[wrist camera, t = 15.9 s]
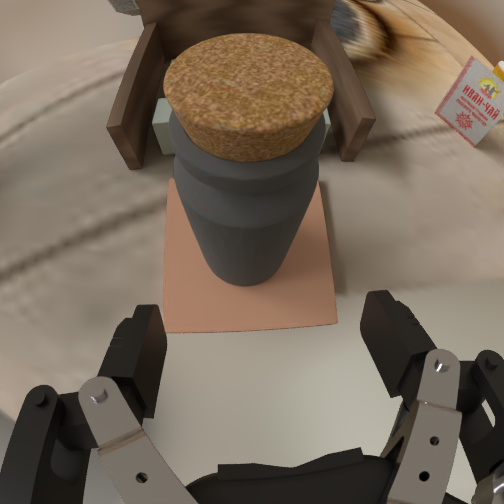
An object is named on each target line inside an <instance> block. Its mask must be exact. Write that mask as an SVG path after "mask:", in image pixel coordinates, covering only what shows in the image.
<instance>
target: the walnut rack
mask: <svg viewBox="0 0 504 504" xmlns="http://www.w3.org/2000/svg"><path fill="white" fill-rule="evenodd" d="M334 2H335V0H138V4H139V8H140V13H141V17H142V21H143V25H144V30H143V32H142V35H141V37H140V39H139V41H138V43H137V45H136V48H135V50H134V52H133V55H132V57H131V59H130V62H129V64H128V67H127V69H126V72H125V74H124V77H123V79H122V82H121V85H120V87H119V90H118V93H117V96H116V99H115V101H114V104H113V107H112V110H111V114H110V117H109V120H108V123H107V126H106V128H107V130H108V132H109V134H110V136H111V137H112V139H113V141H114V143H115V145H116V146H117V148H118V150H119V152H120V154H121V155H122V157H123V159H124V161H125V163H126V164H127V166H128V168H129V170H132V169H140V168H142V165H143V158H144V152H145V146H146V141H147V135H148V130H149V125H150V120H151V115H152V110H153V106H154V101H155V97H156V93H157V88H158V84H159V80H160V76H161V73H162V69H163V65H164V61H165V60H168V59H176V58H177V57H178V56H179V55H180V54H181V53H183V52H184V51H185V50H187V49H188V48H190V47H192V46H194V45H196V44H198V43H200V42H202V41H205V40H208V39H211V38H214V37H218V36H223V35H229V34H239V33H255V34H266V35H271V36H276V37H280V38H283V39H286V40H289V41H292V42H295V43H297V44H299V45H301V46H303V47H305V48H307V49H308V50H310V51H311V52H313V53H314V54H315V55H317V56H318V57H319V58H320V59H321V60H322V62H323V63H324V64H325V65H326V66H327V68H328V69H329V71H330V73H331V76H332V79H333V85H334V92H333V96H332V99H331V102H330V103H329V105H328V106H327V111H328V114H329V118H330V121H331V125H332V128H333V132H334V135H335V139H336V143H337V146H338V150H339V154H340V158H341V161H351V162H353V161H354V159H355V158H356V156H357V154H358V152H359V150H360V148H361V147H362V145H363V143H364V141H365V139H366V137H367V135H368V134H369V132H370V130H371V128H372V126H373V124H374V122H375V120H376V117H375V115H374V112H373V110H372V108H371V105H370V103H369V101H368V98H367V96H366V94H365V92H364V89H363V87H362V85H361V83H360V81H359V78H358V76H357V74H356V72H355V70H354V68H353V66H352V64H351V62H350V60H349V58H348V56H347V54H346V52H345V50H344V49H343V47H342V45H341V43H340V41H339V39H338V38H337V36H336V34H335V32H334V31H333V29H332V27H331V25H330V24H329V23H330V19H331V15H332V10H333V6H334Z"/></svg>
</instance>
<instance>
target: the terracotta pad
mask: <svg viewBox="0 0 504 504" xmlns="http://www.w3.org/2000/svg"><path fill="white" fill-rule="evenodd" d="M336 323H338V321H337V311H336V300H335V291H334V282H333V274H332V266H331V258H330V251H329V244H328V237H327V230H326V224H325V217H324V211H323V205H322V199H321V194H320V188H319V183H318V181H317V186H316V189H315V192H314V194H313V197H312V200H311V202H310V204H309V207H308V209H307V211H306V213H305V216H304V218H303V220H302V222H301V225H300V227H299V229H298V231H297V233H296V236H295V238H294V240H293V242H292V244H291V246H290V248H289V250H288V253H287V255H286V257H285V259H284V261H283V263H282V264H281V266H280V268H279V269H278V270H277V272H276V273H275V274H274V275H273V276H272V277H271V278H269V279H268V280H266V281H264V282H262V283H260V284H257V285H253V286H245V287H243V286H236V285H232V284H229V283H227V282H225V281H223V280H221V279H220V278H219V277H217V276H216V275H215V274H214V273H213V272H212V270H211V269H210V268H209V266H208V264H207V262H206V260H205V258H204V256H203V254H202V251H201V249H200V247H199V244H198V242H197V240H196V237H195V235H194V233H193V230H192V228H191V225H190V223H189V220H188V218H187V215H186V213H185V210H184V207H183V205H182V202H181V200H180V197H179V194H178V191H177V188H176V184H175V180H174V178H169V184H168V196H167V210H166V227H165V250H164V329H165V332H166V333H213V332H240V331H259V330H274V329H288V328H300V327H311V326H321V325H331V324H336Z"/></svg>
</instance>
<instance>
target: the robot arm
mask: <svg viewBox="0 0 504 504" xmlns="http://www.w3.org/2000/svg"><path fill="white" fill-rule="evenodd" d="M360 331H361V335H362V338H363V340H364V342H365V344H366V346H367V348H368V350H369V352H370V354H371V356H372V358H373V361H374V363H375V365H376V367H377V369H378V371H379V373H380V375H381V378H382V380H383V382H384V384H385V386H386V388H387V391H388V393H389V395H390V398H393V397H396V396H400V395H401V396H402V398H403V401H402V403H401V405H400V408H399V411H398V414H397V417H396V420H395V423H394V426H393V428H392V431H391V434H390V437H389V439H388V442H387V444H386V446H385V448H384V449H383V451H382V453H381V455H380V457H378V456H372V455H363V453H362V450H361V447H359V448H355V449H350V450H346V451H342V452H337V453H331V454H327V455H325V456H322V457H320V458H318V459H315V460H313V461H310V462H307V463H305V464H302V465H300V466H297V467H293V468H289V467H278V466H271V465H263V464H256V463H251V464H250V463H249V464H218V472H217V473H212V474H209V475H206V476H203V477H201V478H199V479H197V480H195V481H194V482H192V483H190V484H188V485H187V486H186V487H185V486H184V485H183V484H182V483H181V481H180V480H179V479H178V478H177V476H176V475H175V474H174V473H173V471H172V470H171V469H170V467H169V466H168V465H167V463H166V462H165V460H164V459H163V458H162V456H161V455H160V453H159V452H158V451H157V449H156V448H155V446H154V445H153V444H152V442H151V440H150V439H149V437H148V436H147V434H146V433H145V432H144V430H143V428H142V423H143V418H152V419H153V418H154V413H155V407H156V402H157V396H158V390H159V386H160V380H161V375H162V370H163V365H164V360H165V356H166V351H167V337H166V332H165V329H164V325H163V321H162V318H161V314H160V310H159V307H158V305H157V304H152V305H137V307H136V309H135V312H134V314H133V317H132V318H125V319H124V320H123V321H122V322H121V323H120V324H119V325H118V326H117V328H116V330H115V333H114V335H113V339H112V340H111V342H110V347H108V350H107V352H106V355H105V357H104V360H103V362H102V365H101V368H100V370H99V373H98V375H97V377H95V378H92V379H90V380H88V381H87V382H85V383H84V384H83V385H82V387H81V388H80V391H79V392H74V393H67V394H60V395H58V394H57V392H56V391H55V390H54V389H53V388H52V387H51V386H48V385H40V386H37V387H35V388H33V389H32V390H31V391H30V392H29V393H28V394H27V396H26V398H25V400H24V403H23V405H22V408H21V410H20V413H19V416H18V418H17V421H16V424H15V427H14V430H13V433H12V435H11V438H10V441H9V445H8V448H7V451H6V454H5V457H4V461H3V464H2V468H1V472H0V504H83V496H84V488H85V481H86V475H87V469H88V463H89V457H90V452H91V449H92V448H99V450H98V455H99V457H100V459H101V462H102V464H103V465H104V467H105V469H106V471H107V473H108V475H109V477H110V479H111V480H112V482H113V484H114V486H115V487H116V489H117V491H118V493H119V494H120V496H121V498H122V499H123V501H124V502H125V504H468V503H466V502H464V501H462V500H460V499H458V498H456V497H454V496H452V495H450V494H448V493H447V492H446V488H447V485H448V481H449V478H450V474H451V470H452V466H453V462H454V457H455V453H456V448H457V443H458V438H459V439H460V441H461V443H462V446H463V448H464V451H465V453H466V456H467V459H468V461H469V464H470V467H471V469H472V472H473V475H474V478H475V481H476V483H477V487H476V490H475V494H474V495H473V497H472V499H471V503H472V504H504V360H503V358H502V357H501V356H500V355H499V354H498V353H496V352H494V351H491V350H483V351H481V352H480V353H479V354H478V356H477V358H476V359H475V361H459V360H458V359H457V357H456V356H455V355H454V354H452V353H451V352H449V351H447V350H444V349H437V347H436V346H435V344H434V343H433V341H432V340H431V338H430V337H429V336H428V334H427V333H426V331H425V330H424V328H423V327H422V326H421V325H420V323H419V321H418V320H417V319H416V318H415V316H414V314H413V313H412V312H411V310H410V309H409V308H408V307H407V306H405V305H404V304H402V303H401V302H400V301H395V299H394V298H393V297H392V295H391V294H390V293H389V291H388V290H379V291H370V292H368V293H367V296H366V300H365V304H364V309H363V313H362V318H361V322H360ZM485 399H486V401H487V402H488V404H489V406H490V408H491V410H492V412H493V414H494V416H495V426H494V427H493V426H492V424H491V422H490V420H489V418H488V416H487V414H486V412H485V410H484V408H483V406H482V403H483V402H484V400H485Z"/></svg>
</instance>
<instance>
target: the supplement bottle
mask: <svg viewBox="0 0 504 504" xmlns="http://www.w3.org/2000/svg"><path fill="white" fill-rule="evenodd" d="M493 73H494V74H495V75H496V76H497V77H498V78H499V79H500V80H501V81H503V82H504V61H500V62H499V63H498V64H497V66H496V67H495V69H494V70H493Z"/></svg>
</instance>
